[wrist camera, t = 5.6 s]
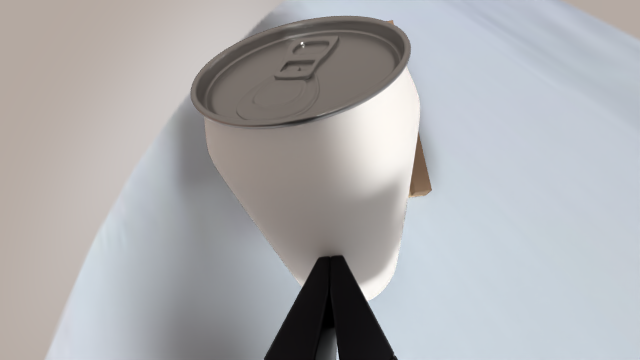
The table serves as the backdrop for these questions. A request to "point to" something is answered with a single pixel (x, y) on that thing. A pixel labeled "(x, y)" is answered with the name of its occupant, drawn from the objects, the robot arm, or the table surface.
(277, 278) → the table surface
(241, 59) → the can
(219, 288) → the table surface
